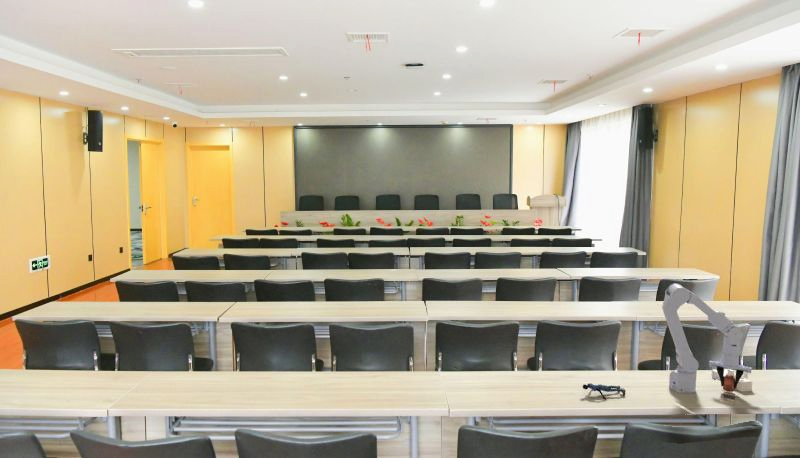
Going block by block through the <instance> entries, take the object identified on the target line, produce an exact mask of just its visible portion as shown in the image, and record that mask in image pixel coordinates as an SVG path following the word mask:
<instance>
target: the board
mask: <svg viewBox="0 0 800 458" xmlns="http://www.w3.org/2000/svg"><path fill="white" fill-rule="evenodd" d="M735 399H736V391H734V392H728V391H725V390H723V388H722V389H721V393H720V397H719V401H718V402H719V403H725V404H730V405H735Z"/></svg>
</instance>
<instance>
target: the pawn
mask: <svg viewBox="0 0 800 458" xmlns="http://www.w3.org/2000/svg"><path fill="white" fill-rule="evenodd" d="M734 386H735V378H734V376H733V375H731V374H726V376H724V380H723V386H722V389H723V390H725V391H728V392H735V390H736V389H734Z"/></svg>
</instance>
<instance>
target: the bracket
mask: <svg viewBox="0 0 800 458" xmlns="http://www.w3.org/2000/svg"><path fill="white" fill-rule="evenodd" d="M726 374H731V375H733V376H734V378H736V372H735V370H731V369H725V368H724V376H726ZM711 376H712V377H713V378H712V377H711ZM711 376H710V377H711V378H712V379H714V378H715V379H714V380H716V379H717V380H716V381H721V380H720V377H719V375H718V372H717V369H711ZM742 377H744V378H746V379H748V380H749V378H748V377H749V373H748V372H743V375H742Z"/></svg>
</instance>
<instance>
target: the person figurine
mask: <svg viewBox="0 0 800 458" xmlns="http://www.w3.org/2000/svg"><path fill="white" fill-rule="evenodd" d="M582 389H583V390H588V389H590V390H591V391H593V392H598V393H599V394H600V395H601V396H602V399H603V400H604V401H607V398H606V396H604V394H603V392H606V393H610V392H612V393H613V392H618V393H622V396H624V397H625V396H626V389H625V387H624V386H620V385H604V384H592V383H587V384H582Z"/></svg>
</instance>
